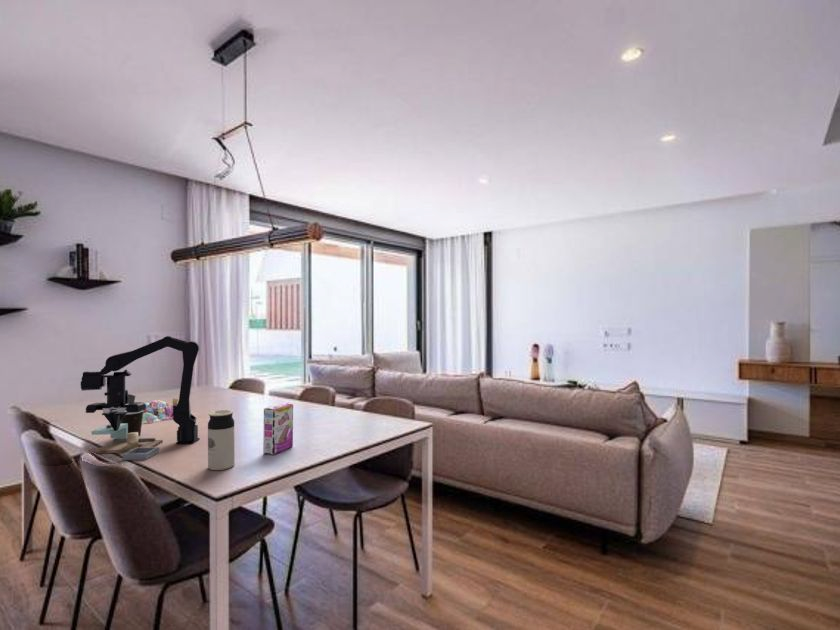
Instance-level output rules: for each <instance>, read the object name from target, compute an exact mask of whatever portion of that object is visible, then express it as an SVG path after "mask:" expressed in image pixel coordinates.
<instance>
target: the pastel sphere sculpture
mask: <svg viewBox="0 0 840 630" xmlns="http://www.w3.org/2000/svg"><path fill="white" fill-rule="evenodd" d="M178 401H179V397H174V398H172V402H171V403H172V404H171V403H169V402H168V401H164V400H163V399H153V400H152V401H150V402H149V403H145V405H146V409H145V410H143V418H142V423H148V424H154V423H153V422H156V423H159V422H162V421H169V420H173V416H172V413H173V405H174V403H178ZM126 405H128V404H126ZM168 419H169V420H168ZM161 420H162V421H161ZM158 421H159V422H158Z"/></svg>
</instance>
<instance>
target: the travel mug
mask: <svg viewBox="0 0 840 630" xmlns="http://www.w3.org/2000/svg"><path fill="white" fill-rule="evenodd" d="M233 413H234V410H233V409H219V410H212V411H210V412H209V413H208V416H209V420H208V422H207V469H209V470H211V471H222V470H223V471H224V470H228V469H231V468H232V467H233V466H235V464H236V463H235V460H236V459H235V453H236V452H235V419H234V417H233Z"/></svg>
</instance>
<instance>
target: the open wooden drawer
mask: <svg viewBox="0 0 840 630" xmlns="http://www.w3.org/2000/svg"><path fill="white" fill-rule="evenodd" d="M163 441H164V440H163V439H156V437H138V447H158V446H159V445H161V444H163V443H162V442H163ZM160 443H161V444H160ZM158 444H159V445H158ZM130 450H132V449H127V438H112V442H110V443H107V444H105V445H102V446H100V447H98V448H96V449H94V450H93V454H103V453H104V454H113V453H115V454H116V453H117V454H124V453H126V452H128V451H130Z"/></svg>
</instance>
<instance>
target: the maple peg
mask: <svg viewBox="0 0 840 630" xmlns="http://www.w3.org/2000/svg"><path fill="white" fill-rule="evenodd" d="M138 438H139V437H138V432H131V433H128V434H127V449H134V448H136V447H138Z"/></svg>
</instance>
